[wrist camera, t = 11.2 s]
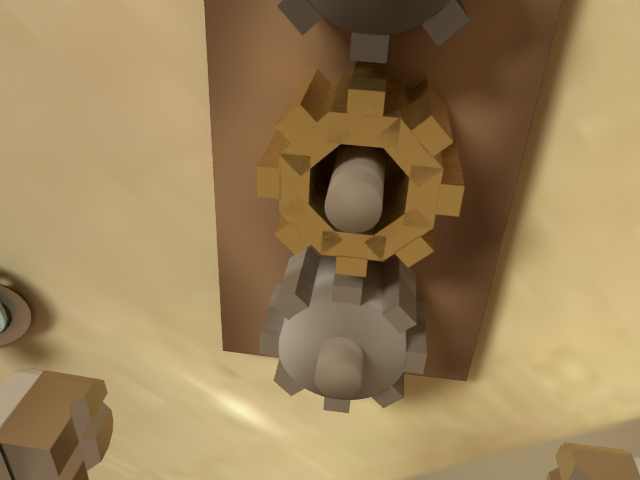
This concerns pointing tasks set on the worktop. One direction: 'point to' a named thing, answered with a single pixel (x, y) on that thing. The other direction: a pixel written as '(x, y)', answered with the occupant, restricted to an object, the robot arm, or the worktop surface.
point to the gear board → (476, 123)
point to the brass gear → (363, 130)
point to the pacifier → (13, 316)
